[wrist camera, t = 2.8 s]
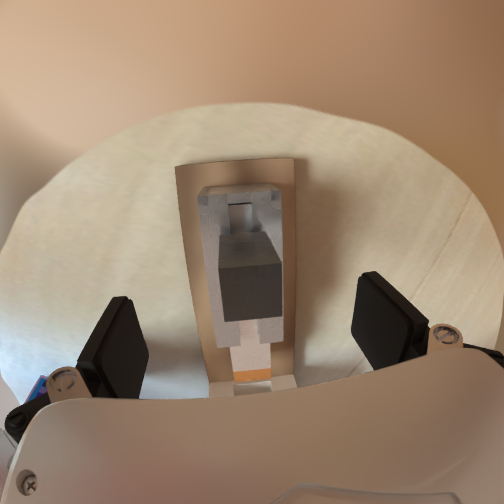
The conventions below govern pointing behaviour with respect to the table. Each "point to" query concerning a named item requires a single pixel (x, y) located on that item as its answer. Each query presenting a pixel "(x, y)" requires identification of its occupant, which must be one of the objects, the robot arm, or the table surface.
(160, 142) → the table surface
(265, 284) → the sliding bolt latch
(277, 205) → the outer sleeve
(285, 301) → the base board
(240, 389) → the block
